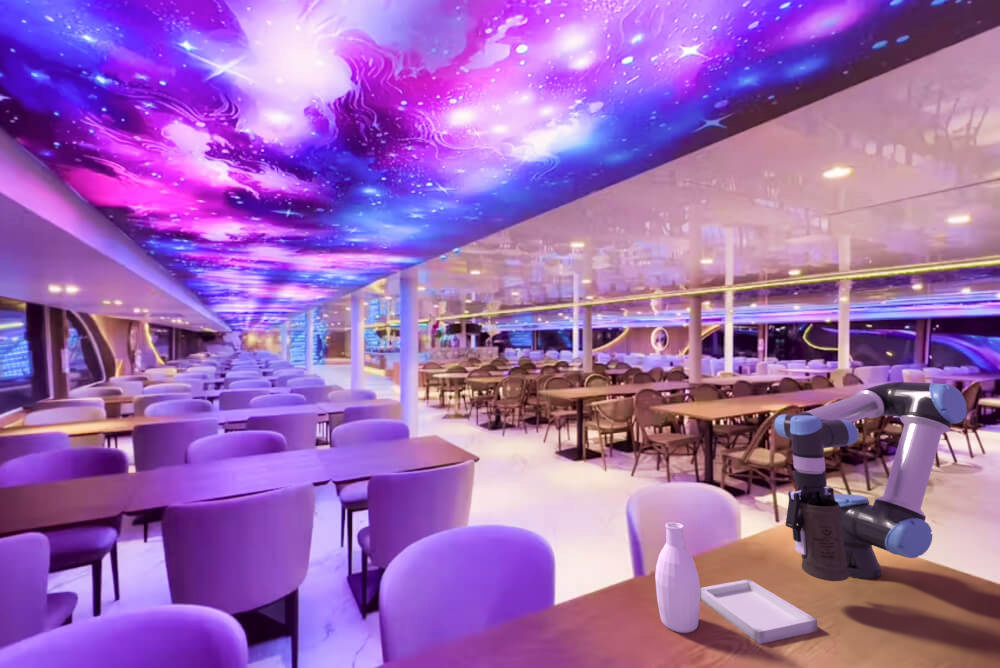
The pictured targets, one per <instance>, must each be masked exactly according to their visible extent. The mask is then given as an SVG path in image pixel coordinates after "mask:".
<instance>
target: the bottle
mask: <svg viewBox="0 0 1000 668" xmlns="http://www.w3.org/2000/svg"><path fill="white" fill-rule="evenodd" d="M665 529H666V530H665V533H666V534H665V536H666V537H665V538H666V539H665V540H666V541H665V544H664V546H663V547H662V549H661V551H660V552H659V555H658V558H657V562H656V565H655V574H654V577H655V578H654V579H655V590H656V591H655V592H656V599H657V605H658V611H659V617H660V621H661V622H662V624H663V625H664V627H666V628H667V629H669V630H671V631H673V632H676V633H680V634H686V633H687V634H688V633H692V632H694V631H695V630H696V629H697V628H698V627H699V619H700V610H701V600H700V588H701V583H700V578H699V573H698V569H697V565H696V563H695V560H694V558H693V556H692V554H691V553H690V551H689V549H688V548H687V546H686V544H685V537H684V524H681V523H679V522H674V521H671V522H669V521H668V522H666V523H665Z"/></svg>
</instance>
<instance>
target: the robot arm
mask: <svg viewBox="0 0 1000 668" xmlns="http://www.w3.org/2000/svg"><path fill="white" fill-rule="evenodd" d="M967 412H968V410H967V403H966V399H965V398H964V395H963V393H962V392H961V391H960V390H959V389H958V388H957V387H955V386H954V385H952V384H948V383H937V382H907V381H894V382H893V381H892V382H887V383H882V384H878V385H874V386H871V387H868V388H865V389H861V390H858V391H857V392H856V393H855V394H854V395H853V396H850V397H847V398H844V399H840V400H837V401H834V402H832V403H828V404H825V405H822V406H819V407H815V408H812V409H810V410H806V411H803V412H799V413H796V414H789V413H787V414H784V413H783V414H779V415H778V416H777V417H776V418H775V420H774V423H773V424H774V425H773V426H774V430H775V433H777V434H778V436H781V437H783V438H787V439H789V440H790V441H791V450H792V461H793V468H794V470H793V475H794V476H793V477H794V479H793V480H794V483H795V484H796V485H797V489H796V491H792V490H789V491H788V492H787V493H788V495H787V496H788V505H787V512H786V517H785V526H786V527H787V528H790V529H792V539H793V541H794V548H795V552H797V553H799V554H801V555H802V554H803V555H806V543H805V531H804V530H802V527H803V524H804V519H803V515H802V513H801V511H800V510H799V506H800V501H801V502H804V503H806V504H809V505H814V504H817V505H818V506H827V502H826V500H825V498H828V499H832V500H834V501H836V502H838V503H839V506H840V509H841V513H840V524H841V528H842V534H843V544H844V551H845V555H846V562H847V570H848V572H849V577H851V578H855V579H856V578H857V579H870V580H871V579H877V578H879V577H881V576H882V567H881V564H880V563H879V561H878V559H877V556H876V554H875V551H874V549H873V547H877V548H879V549H881V550H884V551H886V552H889V553H891V554H893V555H896V556H901V557H904V558H909V559H916V558H918V557H920V556H923V555H924V554H926V553H927V552H928V550H929V548H930V547H931V544H932V542H933V533H932V531H933V530H932V527H931V526H930V524H929V523H928V522H927V521H926V514H924V512H923V510H922V508H921V507H922V505H923V501H924V497H925V495H926V490H927V486H928V483H929V480H930V476H931V472H932V469H933V465H934V462H935V459H936V454H937V451H938V449H939V448H938V447H939V444H940V440H941V437H942V435H943V434H945V433H948V432H950V431H951V427H952V424H958V423H961V422H963V421H964V420H965V419H966V416H967ZM879 417H896V418H897V417H899V419H900V421H901V422H902V424H903V428H902V431H901V435H900V439H899V441H898V445H897V448H896V450H895V455H894V458H893V461H892V465H891V469H890V472H889V475H888V478H887V482H886V485H885V488H884V489H885V490H884V492H883V495H882V496H878V497H877V498H875V499H874V503H873V505H871V504H870V500H869V498H868V497H866V496H863V495H859V494H858V495H857V494H848V493H847V494H845V493H841V494H840V493H835V492H834V491H835V490H834V488H833V487H829V486H827V474H826V461H825V451H824V450H825V449H826V448H827V449H828V448H836V447H837V448H839V447H847V446H850V445H854V444H855V443H857V442H858V439H859V430H858V428H857V426H856V425H855V424H854V423H855V422H856V421H859V420H863V419H866V418H870V419H874V418H879ZM853 422H854V423H853Z"/></svg>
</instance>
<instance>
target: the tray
mask: <svg viewBox="0 0 1000 668" xmlns="http://www.w3.org/2000/svg"><path fill="white" fill-rule="evenodd" d="M701 601H702V602H703V603H704V604H705V605H707V606H708V607H709V608H711V609H712V610H713V611H714V612H716V613H717V614H719V615H720V616H721V617H722V618H724V619H726V620H727V621H728V622H730V624H732V625H733V626H735V627H736V628H737V629H738V630H740V631H741V632H742V633H744V634H746V635H747V636H748V637H749V638H751V639H752V640H753V641H755V642H756V643H757V644H759V645H761V644H765V643H770V642H775V641H778V640H784V639H787V638H792V637H793V638H794V637H797V636H801V635H806V634H809V633H814V632H815V633H816V632H818V631H819V630H818V619H817V618H815V617H813V616H812V615H810V614H808V613H807V612H805V611H804V610H801V609H800V608H798V607H797V606H795V605H793V604H792V603H789V602H788V601H786V600H785V599H783V598H781V597H779V596H778V595H777V594H775V593H773V592H771V591H770V590H768V589H766V588H765V587H763V586H761V585H759V584H758V583H756V582H755V581H753V580H751V579H750V578H748V579H742V580H737V581H732V582H726V583H720V584H713V585H709V586H704V587H703V586H702V587H700V602H701Z"/></svg>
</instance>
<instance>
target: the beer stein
mask: <svg viewBox="0 0 1000 668" xmlns="http://www.w3.org/2000/svg"><path fill="white" fill-rule="evenodd" d="M825 500H826V502H827V506H818V505H817V504H814V505H809V504H806V503H804V502H801V501H800V506H799V510H800V511H801V513H802V515H803V519H804V524H803V527H802V530H804V531H805V543H806V555H803V554H801V559H802V562H801V569H802V570H803V572H804V573H806V574H807V575H809V576H811V577H813V578H815V579H819V580H823V581H828V582H840V581H841V582H842V581H846V580H848V579H849V577H850V576H849V572H848V570H847V562H846V555H845V551H844V544H843V534H842V528H841V524H840V513H841V509H840V506H839V503H838V502H836V501H834V500H832V499H828V498H825Z"/></svg>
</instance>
